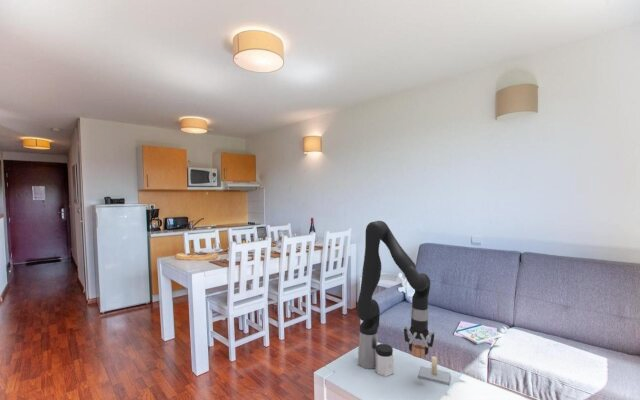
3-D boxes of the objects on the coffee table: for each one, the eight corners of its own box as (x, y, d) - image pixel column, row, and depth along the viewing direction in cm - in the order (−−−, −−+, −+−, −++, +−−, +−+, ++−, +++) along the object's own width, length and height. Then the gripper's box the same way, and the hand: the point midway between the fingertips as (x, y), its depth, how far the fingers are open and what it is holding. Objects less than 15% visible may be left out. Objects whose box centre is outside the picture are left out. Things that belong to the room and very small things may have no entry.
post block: (417, 377, 151) (418, 358, 150) (420, 368, 159) (420, 350, 159) (449, 385, 145) (449, 365, 144) (450, 375, 153) (450, 356, 153)
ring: (410, 355, 145) (411, 348, 145) (412, 349, 150) (412, 342, 150) (424, 358, 142) (424, 351, 142) (425, 352, 148) (426, 345, 148)
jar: (383, 378, 150) (383, 353, 150) (372, 370, 157) (372, 346, 157) (396, 372, 155) (396, 348, 155) (384, 365, 162) (384, 342, 162)
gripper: (402, 317, 145) (401, 352, 146) (435, 323, 139) (434, 360, 140) (405, 311, 152) (404, 345, 153) (436, 317, 146) (435, 352, 147)
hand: (418, 352), depth 146 cm, fingers closed on ring, 6 cm apart
